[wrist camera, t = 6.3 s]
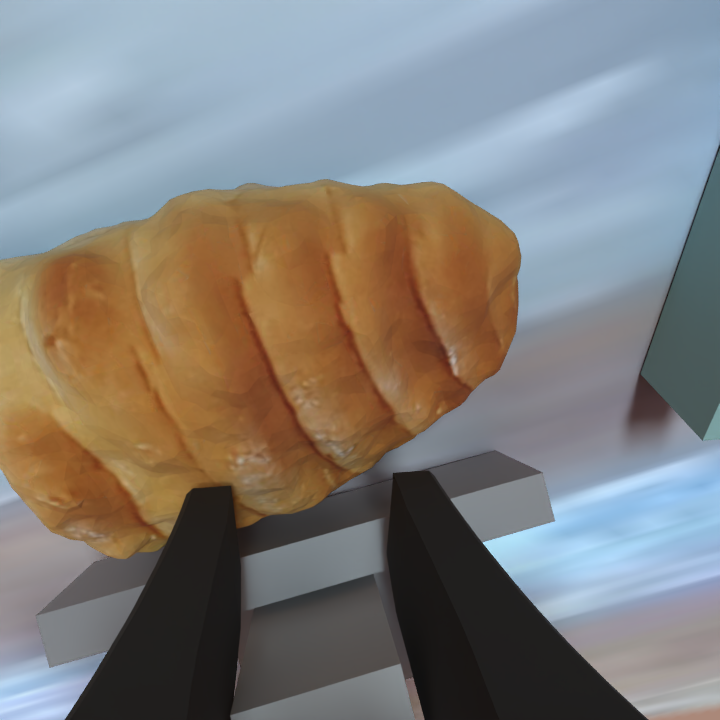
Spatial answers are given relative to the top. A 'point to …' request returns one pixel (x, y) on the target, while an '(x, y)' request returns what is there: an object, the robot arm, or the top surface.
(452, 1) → the top surface
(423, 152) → the top surface
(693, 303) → the bay
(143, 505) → the pastry
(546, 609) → the top surface
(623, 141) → the top surface
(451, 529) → the robot arm
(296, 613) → the pusher
